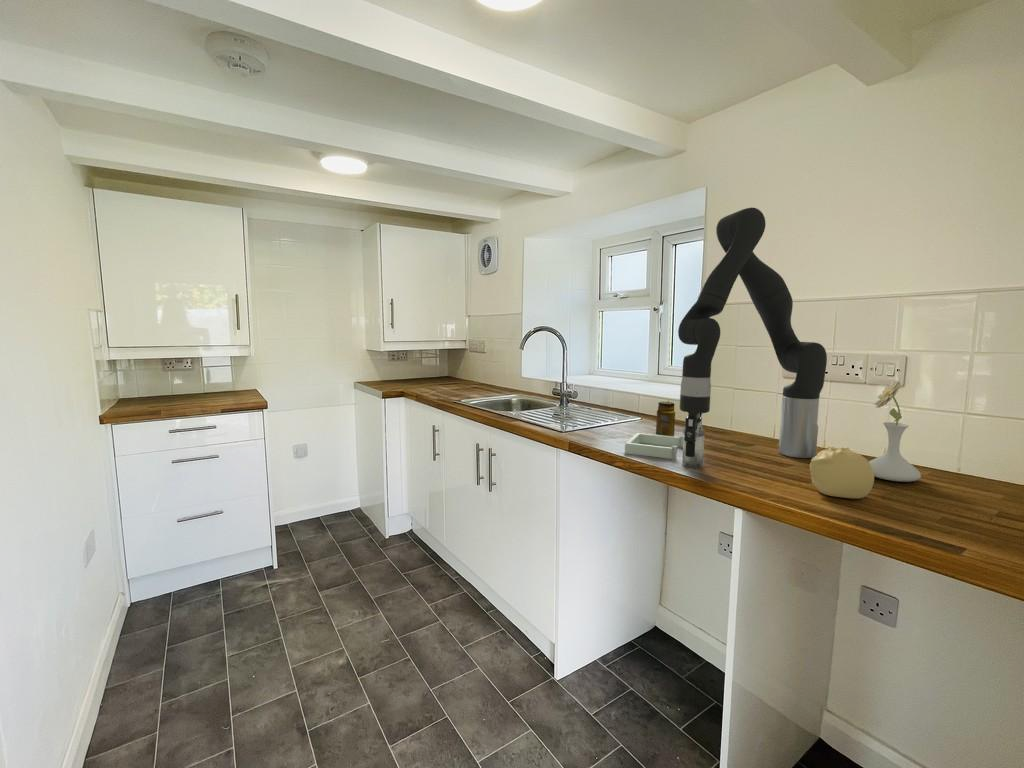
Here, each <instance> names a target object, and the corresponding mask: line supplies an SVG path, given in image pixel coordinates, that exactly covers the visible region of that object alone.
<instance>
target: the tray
mask: <svg viewBox="0 0 1024 768" xmlns="http://www.w3.org/2000/svg"><path fill="white" fill-rule="evenodd" d="M683 438H684V435H679V436H678V437H673V436H663V435H656V434H651V433H641V432H640V433H639V432H637V433H635V434H634V435H632V437H631V438H629V439H628V440H627V441H626V442H625V443H624V454H629V455H630V454H631V455H638V456H647V457H653V458H662V459H672V460H677V453H678V448H682V449H683Z"/></svg>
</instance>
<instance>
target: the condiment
mask: <svg viewBox="0 0 1024 768" xmlns="http://www.w3.org/2000/svg"><path fill="white" fill-rule="evenodd" d="M675 408H676V407H675V403H674V402H672V401H659V402H658V406H657V409H656V419H655V420H656V421H655V422H656V425H655V435H663V436H673V437H679V436H678V435H675V429H676V427H675V426H676V411H675Z"/></svg>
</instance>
